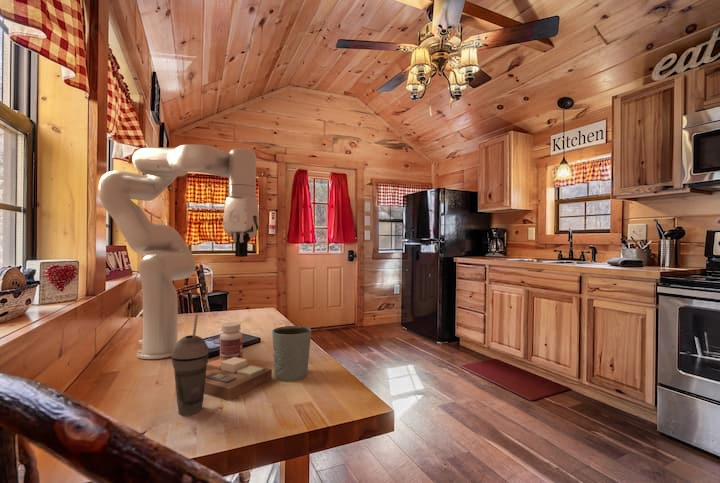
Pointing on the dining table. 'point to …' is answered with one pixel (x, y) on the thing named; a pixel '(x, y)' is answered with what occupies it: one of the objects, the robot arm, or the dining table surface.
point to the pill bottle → (231, 341)
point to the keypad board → (232, 382)
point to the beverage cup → (190, 372)
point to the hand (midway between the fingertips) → (241, 256)
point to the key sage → (250, 371)
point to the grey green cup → (291, 352)
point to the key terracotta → (215, 364)
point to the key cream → (233, 364)
